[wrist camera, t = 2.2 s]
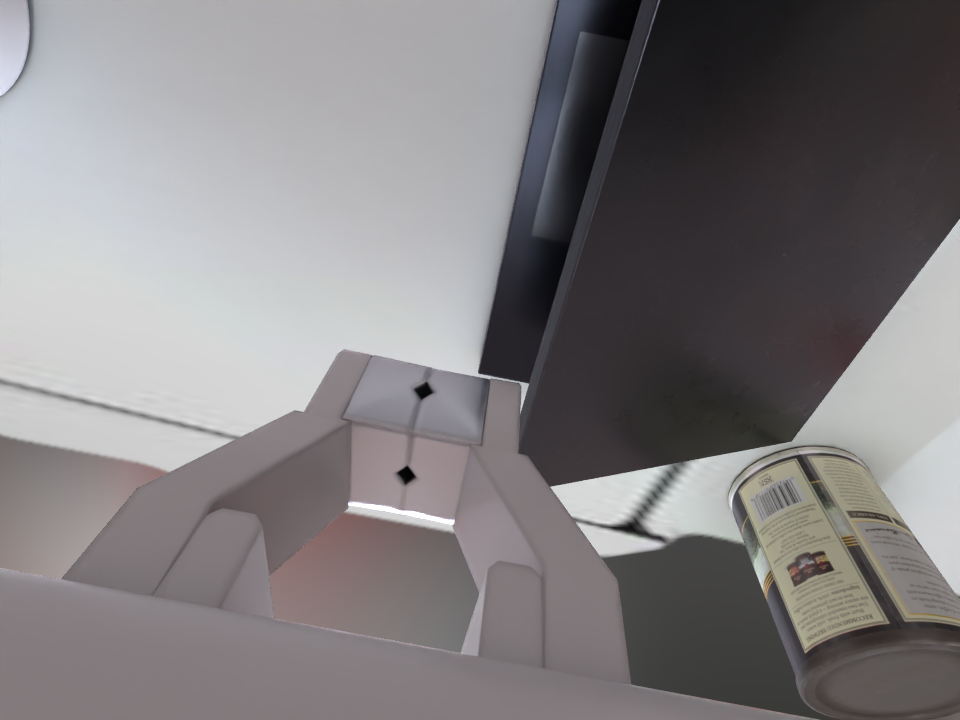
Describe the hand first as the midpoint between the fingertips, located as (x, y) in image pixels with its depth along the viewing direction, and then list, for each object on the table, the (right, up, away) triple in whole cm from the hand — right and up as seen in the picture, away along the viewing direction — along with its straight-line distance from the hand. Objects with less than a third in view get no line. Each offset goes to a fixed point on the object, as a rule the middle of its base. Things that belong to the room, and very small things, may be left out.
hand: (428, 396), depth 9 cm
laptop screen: (+14, +7, +13) cm, 20 cm away
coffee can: (+26, -10, +32) cm, 42 cm away
